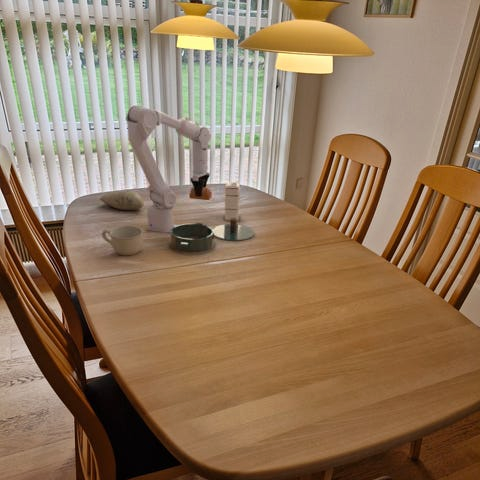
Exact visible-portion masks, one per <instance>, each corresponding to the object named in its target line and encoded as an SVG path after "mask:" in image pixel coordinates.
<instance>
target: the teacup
mask: <svg viewBox="0 0 480 480" xmlns="http://www.w3.org/2000/svg"><path fill="white" fill-rule="evenodd" d="M143 233H144V230H143V228H141V227H140V226H138V225H133V224H122V225H117V226H114V227H112V228H111V229H108V228H105V229H104V230H103V231H102V232H101V237H102V239H103V240H104V241H105V242H107V243H108V244H110V245H111V247H112V249H113V251H114V252H116V253H117V254H118V255H121V256H133V255H136V254H138V253H139V252H141V250H143V247H144V237H143V236H144V234H143ZM106 234H108V235H109V237H110V238H108V236H107V235H106Z"/></svg>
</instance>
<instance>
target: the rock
mask: <svg viewBox="0 0 480 480" xmlns="http://www.w3.org/2000/svg"><path fill="white" fill-rule="evenodd" d="M99 200H100V201H101V202H102V203H103V204H105V205H107V206H110V207H112V208H114V209H117V210H120V211H121V210H123V211H136V210H140V209H142V208H143V207H144V204H145V203H144V199H143V198H142V197H141V195H140V194H138V193H137V192H136V191H133V190H124V191H123V190H122V191H117V192H116V191H115V192H114V191H113V192H109V193H106V194H103V195H102V196H100V198H99Z"/></svg>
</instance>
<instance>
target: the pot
mask: <svg viewBox="0 0 480 480" xmlns="http://www.w3.org/2000/svg"><path fill="white" fill-rule="evenodd" d="M213 229H214V228H213V227H210V225H209V226H208V225H205V224H203V223H200V222H196V223H182V224H177V226H175V227H173V228H172V229H171V231H170V232H169V233H170V246H171V248H173V249H174V250H175V251H178V252H181V253H188V254H199V253H204V252H208V251H210V250H211V249H213V247H214V246H215V236H214V231H213Z"/></svg>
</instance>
